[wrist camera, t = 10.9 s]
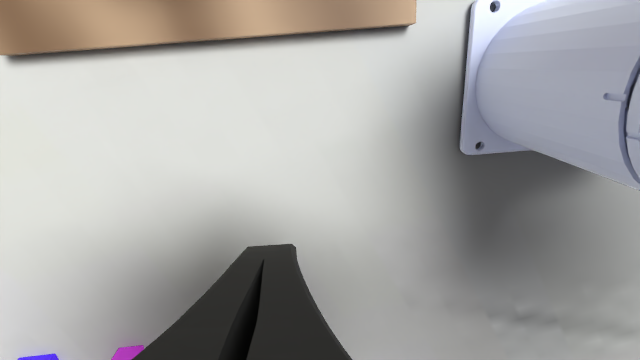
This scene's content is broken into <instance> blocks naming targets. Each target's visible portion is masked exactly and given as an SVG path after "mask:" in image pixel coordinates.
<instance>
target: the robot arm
mask: <svg viewBox="0 0 640 360" xmlns="http://www.w3.org/2000/svg"><path fill="white" fill-rule="evenodd" d="M492 2H494V3H495V4H496V9H495V11H494V12H491V11H490V4H491V3H492ZM478 142H481V146H480V147H479V148H477V149H476V148H475V146H476V144H477V143H478ZM460 150H461V152H463V153H464V154H466V155H478V154H490V153H503V152H515V151H528V150H534V151H537V152H539V153H542V154H545V155H547V156H550V157H553V158H555V159H558V160H560V161H563V162H566V163H568V164H571V165H574V166H576V167H579V168H582V169H584V170H587V171H589V172H592V173H595V174H597V175H600V176H603V177H605V178H608V179H610V180H613V181H616V182H618V183H621V184H624V185H626V186H629V187H631V188H634V189H637V190H639V191H640V0H475V1H474V3H473V4H472V8H471V17H470V29H469V41H468V52H467V64H466V76H465V88H464V100H463V112H462V123H461V135H460ZM131 360H352V359H351V357H350V356H349V355H348V353H347V352H346V351H345V349H344V348H343V347H342V345H341V344H340V342H339V341H338V339H337V338H336V336H335V335H334V333H333V332H332V330H331V329H330V327H329V326H328V324H327V323H326V321H325V319H324V318H323V316H322V314H321V312H320V311H319V309H318V307H317V305H316V303H315V302H314V300H313V298H312V296H311V294H310V292H309V290H308V287H307V285H306V283H305V281H304V279H303V276H302V274H301V271H300V268H299V265H298V262H297V256H296V247H295V246H293V245H292V244H283V245H268V246H253V247H247V248H246V249H245V250H244V252H243V253H242V254H241V255H240V256H239V257H238V258H237V259H236V260H235V261H234V263H233V264H232V265H231V266H230V267H229V268H228V269H227V270H226V272H225V273H224V274H223V275H222V276H221V277H220V278H219V279H218V280H217V281H216V282H215V283H214V285H213V286H212V287H211V288H210V289H209V290H208V291H207V292H206V293H205V294H204V295H203V296H202V297H201V298H200V299H199V300H198V301H197V302H196V303H195V304H194V305H193V306H192V307H191V308H190V309H189V310H188V311H187V312H186V313H185V314H184V315H183V316H182V317H181V318H180V319H178V320H177V321H176V322H175V323H174V324H173V325H172V326H171V327H170V328H169V329H167V330H166V331H165V332H164V333H163V334H162V335H161V336H159V337H158V338H157V339H156V340H155V341H153V342H152V343H151V344H150V345H149V346H147V347H146V348H145V349H144V350H142V351H141V352H140V353H139V354H138V355H136V356H135V357H134V358H133V359H131Z"/></svg>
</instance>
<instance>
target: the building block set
mask: <svg viewBox="0 0 640 360" xmlns="http://www.w3.org/2000/svg"><path fill="white" fill-rule="evenodd" d="M142 350H144V347H143V345H140V346H131V347H123V348H119V349H118V350H117V352H116V353H115V355H114V356H113V358H112V359H111V360H131V359H133V358H134V357H135V356H136V355H138V354H139V353H140V352H141V351H142ZM18 360H59V359H58V358H57V356H56V354H49V355H40V356H31V357H23V358H19V359H18Z"/></svg>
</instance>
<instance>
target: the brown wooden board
mask: <svg viewBox="0 0 640 360" xmlns="http://www.w3.org/2000/svg"><path fill="white" fill-rule="evenodd" d="M415 23H416V0H0V55H13V56H14V55H28V54H41V53H54V52H67V51H80V50H93V49H106V48H120V47H133V46H146V45H159V44H172V43H185V42H198V41H212V40H225V39H238V38H251V37H264V36H277V35H291V34H304V33H317V32H330V31H343V30H356V29H369V28H383V27H396V26H409V25H412V24H415Z"/></svg>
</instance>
